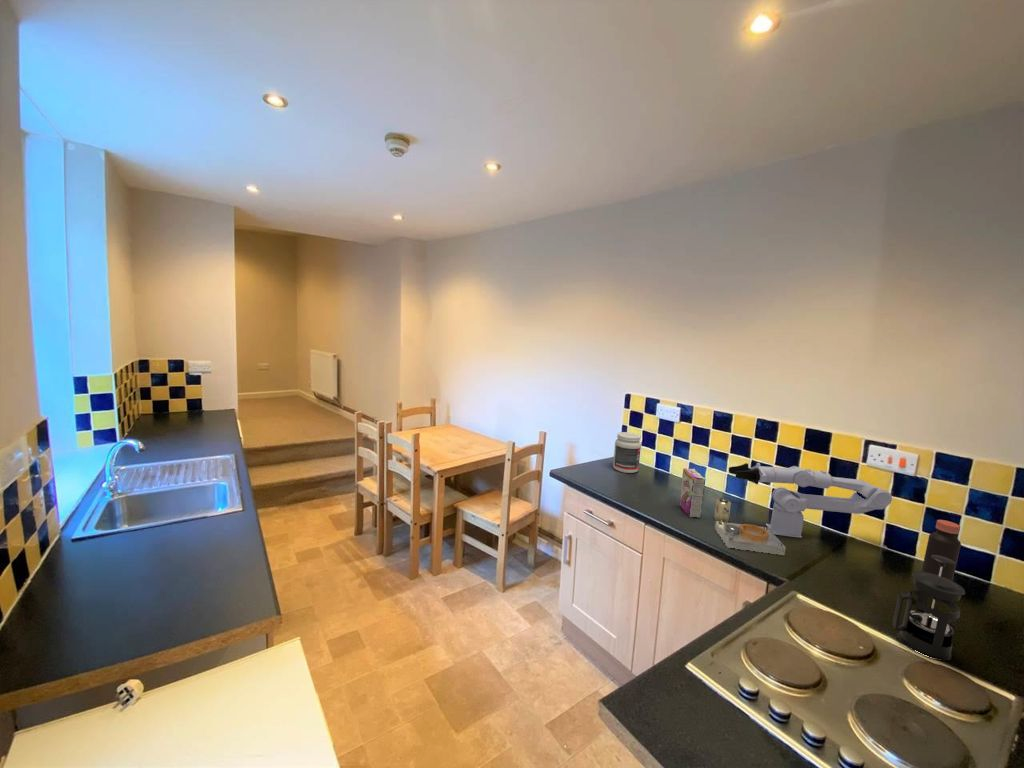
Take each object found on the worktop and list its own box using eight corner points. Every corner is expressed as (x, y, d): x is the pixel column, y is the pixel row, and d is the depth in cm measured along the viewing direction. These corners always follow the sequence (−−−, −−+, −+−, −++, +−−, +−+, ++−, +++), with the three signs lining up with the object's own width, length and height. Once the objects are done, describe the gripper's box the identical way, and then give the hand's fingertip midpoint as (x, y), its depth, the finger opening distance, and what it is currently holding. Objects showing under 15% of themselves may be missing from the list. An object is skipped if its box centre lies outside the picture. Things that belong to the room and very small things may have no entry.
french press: (940, 639, 106) (960, 554, 103) (964, 667, 97) (987, 575, 94) (882, 625, 110) (899, 542, 107) (900, 650, 101) (920, 561, 98)
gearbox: (766, 535, 156) (768, 523, 155) (784, 555, 142) (786, 543, 141) (714, 528, 159) (716, 517, 158) (727, 548, 145) (728, 535, 144)
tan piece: (725, 517, 169) (728, 497, 167) (732, 526, 161) (735, 505, 160) (712, 516, 169) (715, 496, 168) (718, 524, 162) (721, 503, 161)
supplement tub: (642, 474, 213) (646, 438, 210) (618, 474, 211) (621, 438, 208) (632, 465, 226) (635, 431, 223) (609, 465, 224) (612, 431, 221)
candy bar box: (678, 505, 178) (682, 467, 175) (690, 506, 178) (694, 468, 175) (688, 517, 167) (693, 477, 164) (701, 518, 167) (706, 478, 164)
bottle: (914, 579, 132) (927, 519, 129) (927, 576, 135) (940, 517, 132) (942, 593, 126) (957, 530, 123) (955, 589, 128) (970, 527, 125)
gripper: (764, 460, 165) (726, 458, 167) (780, 468, 150) (739, 465, 153) (763, 478, 165) (725, 476, 167) (780, 487, 150) (738, 485, 153)
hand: (732, 472), depth 160 cm, fingers open, 7 cm apart
